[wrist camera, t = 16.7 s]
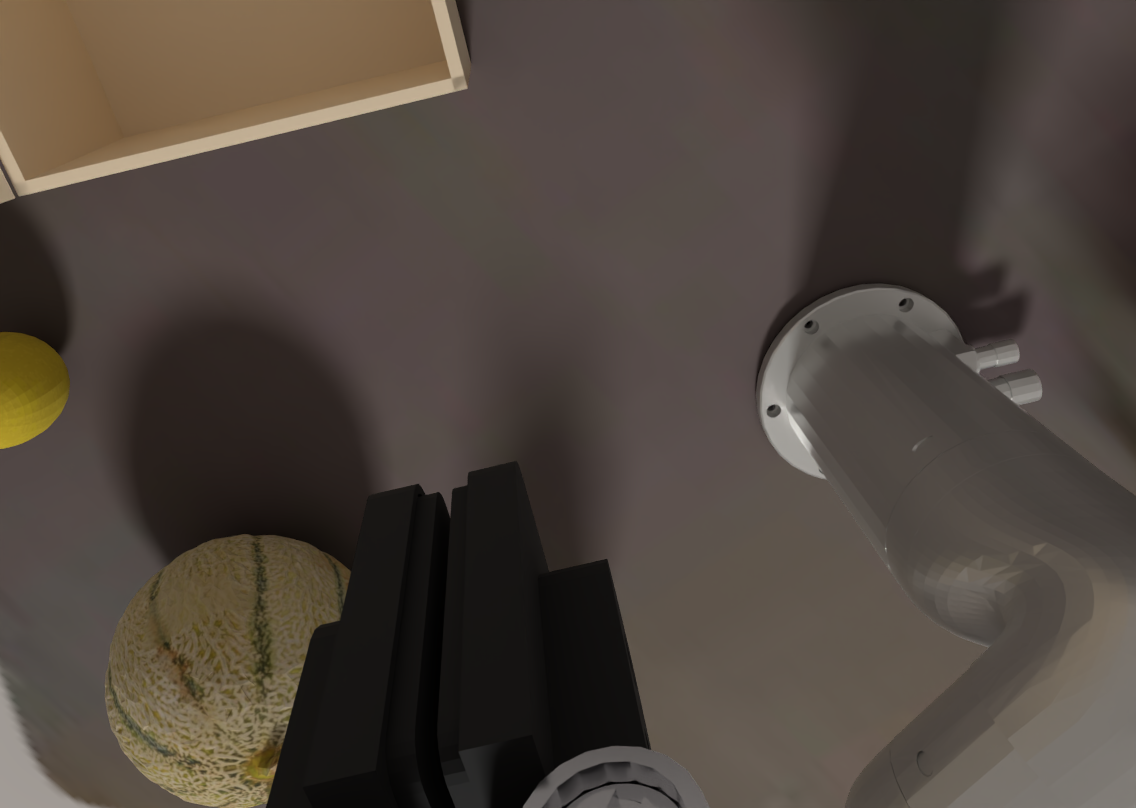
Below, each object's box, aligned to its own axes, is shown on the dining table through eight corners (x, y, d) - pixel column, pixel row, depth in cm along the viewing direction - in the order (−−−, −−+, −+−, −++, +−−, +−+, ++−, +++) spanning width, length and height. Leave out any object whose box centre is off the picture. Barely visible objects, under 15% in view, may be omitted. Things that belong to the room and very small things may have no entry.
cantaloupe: (110, 533, 54) (-14, 717, 40) (334, 454, 53) (282, 617, 39) (229, 702, 60) (156, 910, 47) (431, 635, 59) (415, 828, 46)
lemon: (113, 357, 49) (49, 422, 42) (55, 422, 50) (-16, 495, 43) (21, 290, 47) (-63, 346, 40) (-36, 360, 48) (-127, 426, 41)
